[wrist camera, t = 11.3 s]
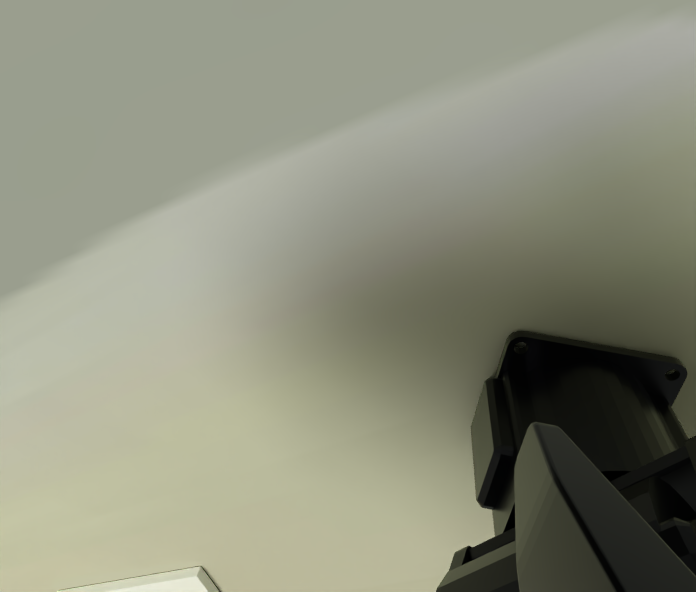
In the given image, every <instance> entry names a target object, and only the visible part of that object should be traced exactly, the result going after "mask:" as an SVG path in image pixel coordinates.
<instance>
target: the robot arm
mask: <svg viewBox="0 0 696 592" xmlns="http://www.w3.org/2000/svg"><path fill="white" fill-rule="evenodd" d="M519 342H524V343H526V345H525V346H524V347H522V348H517V347H515V345H516V344H517V343H519ZM672 369H675V371H674V372H673V373H671V374H665V373H666V372H667V371H669V370H672ZM686 377H687V370H686V368H685V366H684V365H683V363H682V362H681V361H680V360H679V359H676V358H672V357H667V356H661V355H656V354H650V353H644V352H639V351H633V350H627V349H622V348H616V347H610V346H605V345H599V344H594V343H588V342H582V341H577V340H571V339H565V338H560V337H554V336H548V335H543V334H537V333H532V332H526V331H517V332H513V333H512V334H511V335H509V337H508V338H507V340H506V343H505V347H504V350H503V353H502V356H501V359H500V362H499V366H498V369H497V372H496V375H495V377H490V378H489V379H487V380H486V381H485V382H484V386H483V389H482V392H481V396H480V399H479V402H478V405H477V409H476V412H475V415H474V419H473V422H472V425H471V435H472V449H473V462H474V475H475V489H476V500H477V502H478V503H479V505H480V506H481V507H482V508H487V509H492V512H493V521H494V531H495V537H494V538H492V539H489V540H487V541H485V542H483V543H481V544H479V545H477V546H475V547H473V548H472V547H471V546H467V547H465V548H463V549H461V550H459V551H457V552H455V554H454V557H453V560H452V563H451V566H450V569H449V572H447V574H446V575H445V577H444V579H443V580H442V582H441V583H440V585H439V586H438V588H437V590H436V592H696V436H694V437H692V438H690V439H688V437H687V435H686V433H685V431H684V430H683V428H682V426H681V424H680V422H679V421H678V419H677V417H676V415H675V413H674V411H673V410H672V408H671V406H672V404H673V402H674V400H675V399H676V397H677V395H678V393H679V391H680V389H681V387H682V385H683V383H684V381H685V379H686Z"/></svg>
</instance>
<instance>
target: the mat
mask: <svg viewBox="0 0 696 592" xmlns="http://www.w3.org/2000/svg"><path fill="white" fill-rule="evenodd" d="M57 592H219V590H218V589H217V588H216V586H215V585H214V584H213V582H212V581H211V580H210V578H209V577H208V575H207V574H206V573H205V571H204V570H203V569H202V567H201V566H199V567H193V568H187V569H182V570H176V571H170V572H164V573H158V574H152V575H147V576H141V577H135V578H129V579H123V580H118V581H112V582H106V583H100V584H94V585H89V586H83V587H77V588H71V589H65V590H59V591H57Z"/></svg>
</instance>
